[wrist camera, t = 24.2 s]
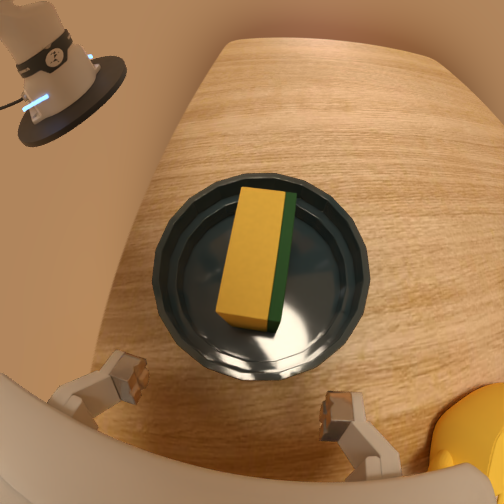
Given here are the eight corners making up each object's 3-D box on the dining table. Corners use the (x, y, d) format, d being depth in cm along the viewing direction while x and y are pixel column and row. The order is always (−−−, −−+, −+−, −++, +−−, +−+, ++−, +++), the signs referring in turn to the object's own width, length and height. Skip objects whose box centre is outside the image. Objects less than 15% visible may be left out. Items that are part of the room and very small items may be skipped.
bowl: (138, 299, 26) (114, 286, 21) (243, 175, 31) (239, 145, 26) (282, 411, 22) (286, 424, 17) (380, 261, 26) (401, 241, 22)
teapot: (378, 532, 15) (416, 580, 5) (386, 416, 21) (450, 441, 11) (514, 461, 15) (565, 470, 5) (522, 360, 20) (582, 348, 10)
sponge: (230, 326, 24) (214, 311, 17) (247, 233, 27) (241, 186, 20) (276, 333, 24) (280, 322, 16) (289, 238, 27) (297, 192, 20)
